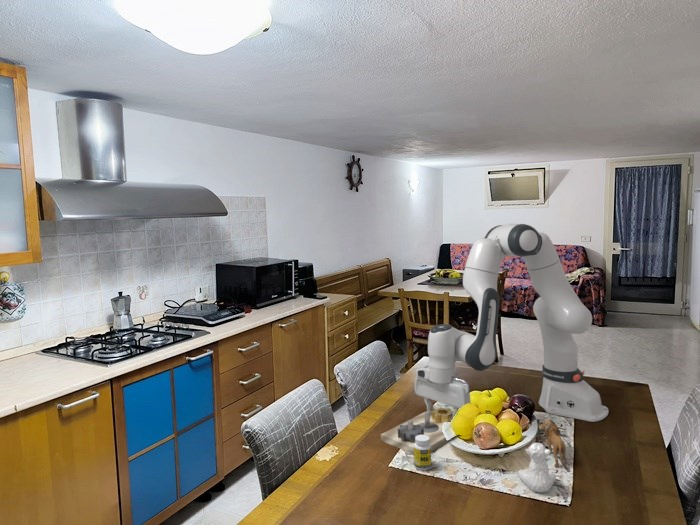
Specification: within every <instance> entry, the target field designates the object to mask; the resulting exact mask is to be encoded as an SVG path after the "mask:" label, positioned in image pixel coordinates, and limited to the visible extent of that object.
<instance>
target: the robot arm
mask: <svg viewBox="0 0 700 525" xmlns="http://www.w3.org/2000/svg"><path fill="white" fill-rule="evenodd" d="M506 257H508V258H510V257H511V258H513V257H520V258H522V259H523V260H524V264H525V266H526V271H527V272H528V275H529V278H530V280H531V281H530V282H531V284H532V287H533V288H534V291H535V292H536V293H537V294H539V297H538V298H537V299H535V301H534V304H533V306H532V310H533V314H534V316H535V317H536V320H537V322H538V324H539V329H540V334H541V337H542V343H543V364H542V370H541V377H542V388H541V394H540V397H539V399H538V404H539V406H540V408H541V407H542V408H543V409H544V411H545V413H547V414H550V415H555V416H556V415H557V416H561V417H567V418H570V419H577V420H582V421H585V422H591V423H592V422H593V423H594V422H599V421H602V420H604V419H605V418H607V416H608V415H609V412H610V411H609V410H610V409H609V408H608V407H607V406H605V405H603V404H602V399H601V395H600V393H599V392H598V391H597V390H596V389H594V387H592V386H591V385H590V384H589V383H588V382H587V381H585V380H584V375H585V370H583V371H581V370H580V368H579V367H578V359H579V357H578V356H579V355H578V352H579V351H578V350H579V349H578V345H577V343H576V340H574V336H573V335H575V334H576V335H581V334H583V333H585V332H587V331H588V330H589V329H590V328H591V326H592V325H593V324H592V323H593V315H592V313H591V311H590V310H589V309H588V308H587V307H586V305H584V303H583V302H582V301H581V299H580V298H579V296H578V294H576V292H575V290H574V288H573V287H572V285H571V284H570V282H569V280H568V277H567V275H566V272H565V270H564V267H563V264H562V261H561V260H560V257H559V254H558V251H557V250H556V247H555V245H554V243H553V241H552V240H551V238H550V236H549V235H548V234H547V233H544V232H539V231H538V230H537V229H536V228H535V227H533V226H531V225H529V224H526V223H507V224H501V225H500V224H499V225H496V226H493V227H492V228H491V229H489V230H488V231H487V232H486V234H485V236H484V237H482V238H479V239H476V240H475V241H474V243H473V244H472V246H471V248H470V250H469V253H468V257H467V259H466V262H465V266H464V270H463V275H462V286H463V289H464V290H465V292H466V293H467V295H469V297H471V299H473V301H474V302H475V304H476V306H477V308H478V316H477V326H476V327H477V328H476V334H475V335H474V334H472V333H469V332H466V331H464V330H463V331H462V330H459V329H457V328H455V327H453V325H451V324H448V323H442V324H436V325H435V326H432V327H431V328H430V330H429V333H428V337H427V354H428V362H427V365H425V366H422V367H420V368H418V369H416V370H415V378H414V392H415V394H416V396H419V397H422V398H423V401H424V403H425V405H426V411H433V408H434V404H432V402H431V400H432V401H434V402H438V403H441V404H444V405H447V406H450V407H452V410H453V412H452V413H450V418H452V419H453V417H454V416H455V414H456V412H457V411H458V409H459V408H461V407H462V406H463V405H465V404H467V403H470V404H471V394H470V385H469V384H468V382H466V380H465V379H462V378H458V377H456V362H462V363H463V364H466V365H467V366H468V367H471V368H472V369H473V370H475V371H478V372H481V371H485V370H488V369H489V368H491V366H493V364H494V363H495V362H496V359H497V329H498V320H499V313H500V312H499V311H500V295H499V292H498V279H499V278H498V277H499V275H500V274H499V273H500V268H501V264H502V262H503V260H504V259H505V258H506ZM572 334H573V335H572ZM458 412H459V411H458Z"/></svg>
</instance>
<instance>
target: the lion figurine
mask: <svg viewBox="0 0 700 525" xmlns="http://www.w3.org/2000/svg"><path fill="white" fill-rule="evenodd" d="M538 428H539V430H540V432H544V435H545V437H546V439H547V447H548V448H547V449H549V450H550V453H549V454H553V457H554V461H555V463H554V465H553V467H554V468H559V466H560V464H559V463H560V462H561V465H562V467H563V468H564V469H565V470H568V466H567V465H566V464H567V463H568V461H567V459H566V444H565V442H564V439H562V436H561V435H562V434H561V433H562V432H561V431H560V429H559V427H558V425H557V424H556V423H555V422H554V420H552V419H550V418H545V419H544V422H542V423H541V424H539V425H538ZM558 453H559V459H558ZM559 460H560V462H559Z"/></svg>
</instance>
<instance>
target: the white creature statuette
mask: <svg viewBox="0 0 700 525" xmlns="http://www.w3.org/2000/svg"><path fill="white" fill-rule="evenodd" d="M525 452H526V454H527V455H528V456H529V458H530V462H529V466H528V471H526V470H525V469H521V470H520V469H519V471H517V472H518V473H517V475H518V476H517V477H518V478H519V481H522V483H523V484H524V485H525V486H526V487H528V488H529V489H530V490H531V491H532V492H535V493H538V494H545V493H548V492H549V491H550V490H551V489H552V486H553V485H554V483H555V482H556V478H557V475H556V473H552V472H550V471H549V470H550V469H549V466H548V464H547V460H546V458H547V457H548V456H549V455H550V454H551V453H550V450H549V449H548V448H547V447H546V446H545V445H544V444H543V443H541V442H532V444H530V445H529V446H528V448H525Z"/></svg>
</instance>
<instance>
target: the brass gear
mask: <svg viewBox="0 0 700 525" xmlns="http://www.w3.org/2000/svg"><path fill="white" fill-rule="evenodd" d="M434 409H435V410H434V411H433V412H432V420H434V421H435V422H436V423H444V422H451V420H452V418H450V413H452V412H454V410H451V408H446V407H445V408H444V407H438V408H434Z"/></svg>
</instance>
